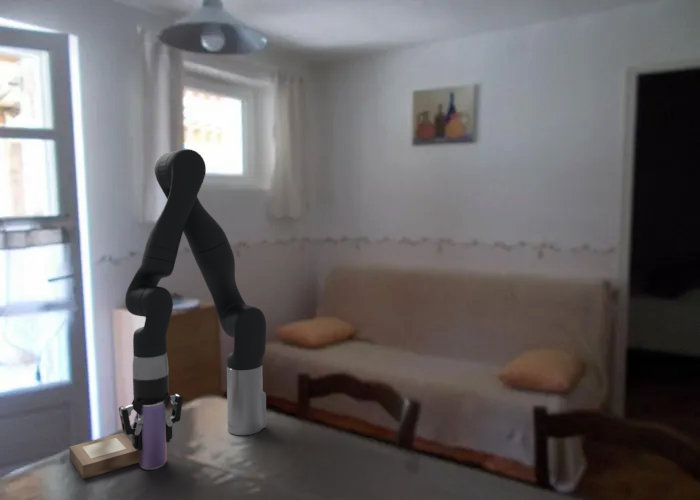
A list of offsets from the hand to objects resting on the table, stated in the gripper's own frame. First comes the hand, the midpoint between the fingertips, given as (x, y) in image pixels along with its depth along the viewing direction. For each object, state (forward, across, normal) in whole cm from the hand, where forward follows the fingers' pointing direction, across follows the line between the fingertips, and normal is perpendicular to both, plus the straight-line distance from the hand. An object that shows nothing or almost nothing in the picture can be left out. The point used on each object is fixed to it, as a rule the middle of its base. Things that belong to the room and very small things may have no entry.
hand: (152, 445), depth 121 cm
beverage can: (+5, 0, 0) cm, 5 cm away
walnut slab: (+5, +8, -9) cm, 13 cm away
